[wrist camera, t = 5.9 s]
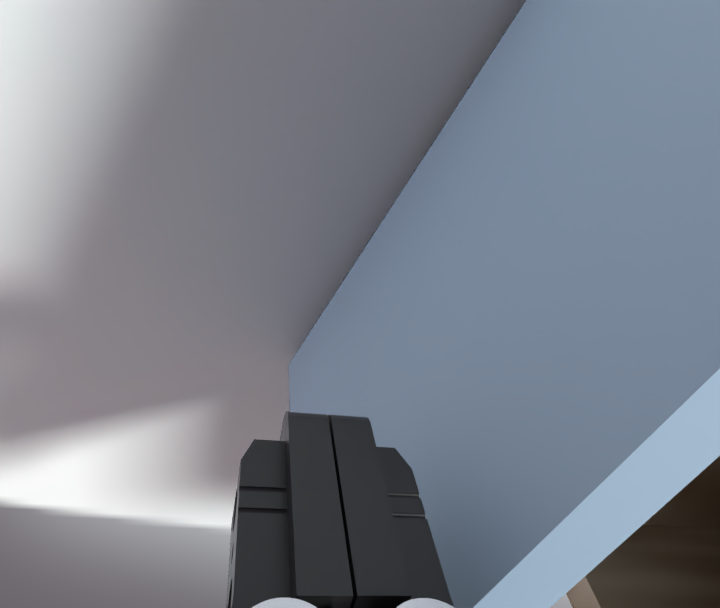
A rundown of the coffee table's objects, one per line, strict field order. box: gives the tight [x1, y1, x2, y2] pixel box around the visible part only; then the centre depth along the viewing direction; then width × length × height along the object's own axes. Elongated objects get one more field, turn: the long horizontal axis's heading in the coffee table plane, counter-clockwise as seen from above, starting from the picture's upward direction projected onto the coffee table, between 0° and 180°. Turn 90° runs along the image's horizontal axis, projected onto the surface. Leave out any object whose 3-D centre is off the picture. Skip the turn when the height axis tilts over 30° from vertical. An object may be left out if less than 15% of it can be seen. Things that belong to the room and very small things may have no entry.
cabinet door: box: [289, 0, 720, 608], centre depth 13 cm, size 21×2×13 cm, turn 148°
